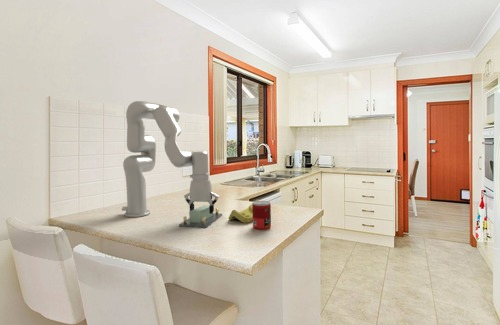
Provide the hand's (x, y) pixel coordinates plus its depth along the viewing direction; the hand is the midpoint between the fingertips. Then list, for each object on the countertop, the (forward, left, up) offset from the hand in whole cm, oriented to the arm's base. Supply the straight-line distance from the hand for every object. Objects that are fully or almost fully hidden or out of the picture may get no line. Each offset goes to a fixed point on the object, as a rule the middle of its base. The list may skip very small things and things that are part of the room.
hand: (201, 212), depth 141 cm
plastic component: (+22, +8, -4) cm, 23 cm away
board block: (0, 0, -3) cm, 3 cm away
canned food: (+31, -7, -4) cm, 32 cm away
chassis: (0, 0, -4) cm, 4 cm away
